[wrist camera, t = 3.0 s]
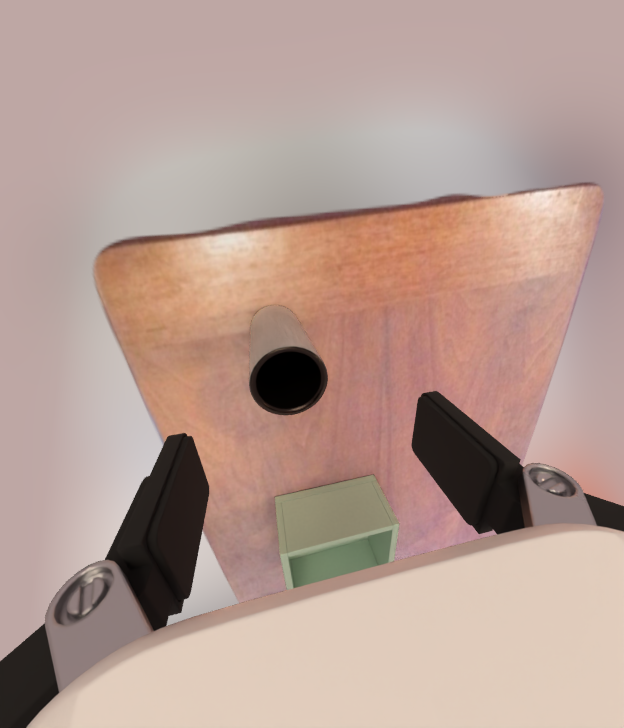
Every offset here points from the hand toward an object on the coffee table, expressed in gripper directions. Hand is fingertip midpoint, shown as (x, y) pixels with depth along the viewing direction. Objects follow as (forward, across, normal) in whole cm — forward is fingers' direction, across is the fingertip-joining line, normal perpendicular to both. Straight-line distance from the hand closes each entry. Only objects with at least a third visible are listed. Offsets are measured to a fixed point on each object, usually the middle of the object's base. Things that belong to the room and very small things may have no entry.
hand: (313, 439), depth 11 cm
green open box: (+15, -3, +29) cm, 33 cm away
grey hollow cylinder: (+15, +1, 0) cm, 15 cm away
